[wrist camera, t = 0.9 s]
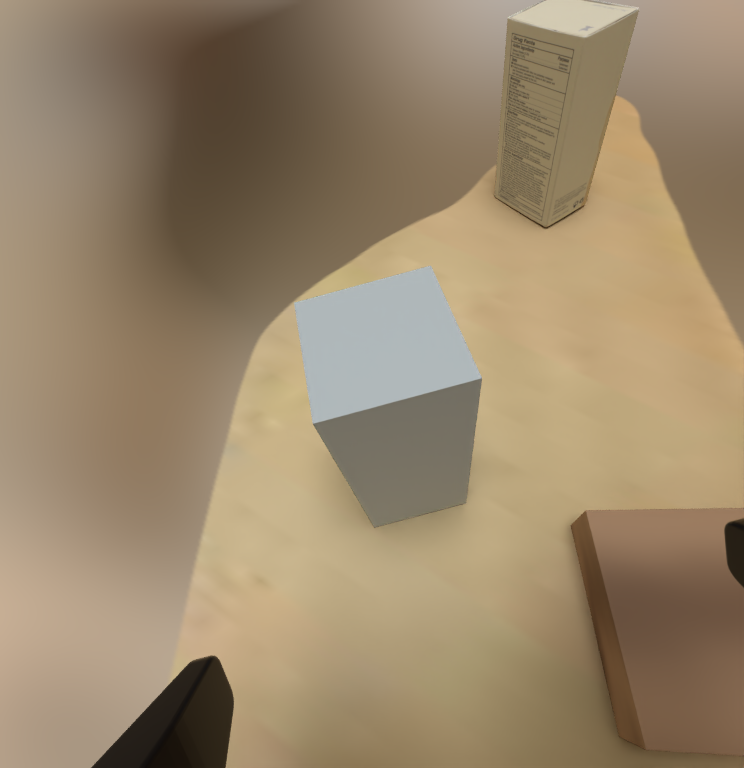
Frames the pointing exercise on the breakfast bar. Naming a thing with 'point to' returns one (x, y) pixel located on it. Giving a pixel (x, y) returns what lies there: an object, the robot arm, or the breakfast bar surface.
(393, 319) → the pillar
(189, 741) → the robot arm
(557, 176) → the skincare box
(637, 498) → the breakfast bar surface
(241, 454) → the breakfast bar surface
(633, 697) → the walnut block
